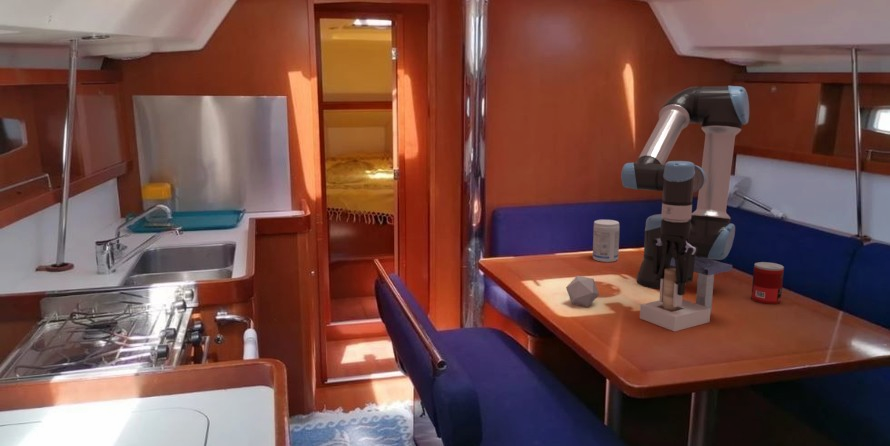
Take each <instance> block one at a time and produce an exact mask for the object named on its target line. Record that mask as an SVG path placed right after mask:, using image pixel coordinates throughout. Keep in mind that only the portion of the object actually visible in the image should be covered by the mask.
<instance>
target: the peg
mask: <svg viewBox="0 0 890 446" xmlns="http://www.w3.org/2000/svg"><path fill="white" fill-rule="evenodd" d="M675 282H677V277H676V269H675V268H666V269H665V272H664V288H663V304H662V309H664V310H667V311H670V312H673V311H677V310H678V306H677V307H674V306H673V294H674V283H675Z"/></svg>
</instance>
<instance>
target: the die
mask: <svg viewBox="0 0 890 446" xmlns="http://www.w3.org/2000/svg"><path fill="white" fill-rule="evenodd" d="M565 289H566V291H567V293H568V297H569V299H570V302H571V304H572V305H578V306H581V307H590V305H591V304H592V303H593V302H594V301H595V300H596V299H597V298H598V297H599V295H600V293H599V290H598V288H597V284H596V282H595V279H594V278H593V277H585V276H580V275H576V276H575V277H574V278H573V279H572V281H570V283H569V284H568V285H567V286H566V287H565Z"/></svg>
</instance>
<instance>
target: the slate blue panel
mask: <svg viewBox="0 0 890 446" xmlns="http://www.w3.org/2000/svg"><path fill="white" fill-rule="evenodd" d="M670 265H671V266H675V259H674V258H672V259H671V263H670ZM731 271H733V265H732V264H730V263H725V262H722V261H719V260H715V259H706V258H702V257H698V256H695V262H694V271H693V273H694V272H695V273H697V281H696V282H697V283H696V296H695V297H696V298H695V303H696V304H699V305H702V306H705V307H708V308H711V309H710V315H711V314H712V307H713V294H714V293H713V291H714V284H715V283H714V282H715V281H714V280H715V275H718V274H722V273H726V272H731Z"/></svg>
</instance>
